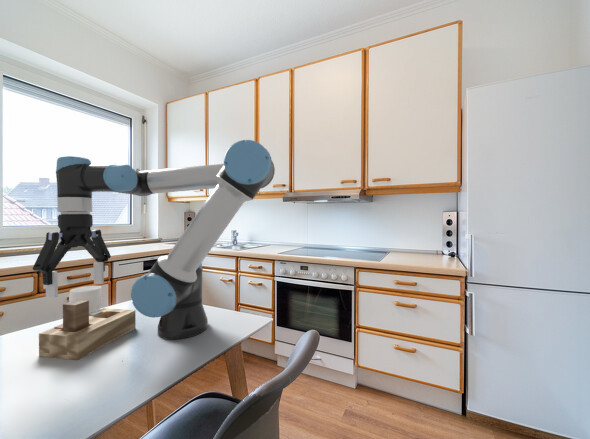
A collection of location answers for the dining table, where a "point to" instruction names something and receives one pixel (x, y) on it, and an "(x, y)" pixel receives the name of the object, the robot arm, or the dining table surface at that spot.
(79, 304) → the plug
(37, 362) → the dining table surface
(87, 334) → the box
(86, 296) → the cup
